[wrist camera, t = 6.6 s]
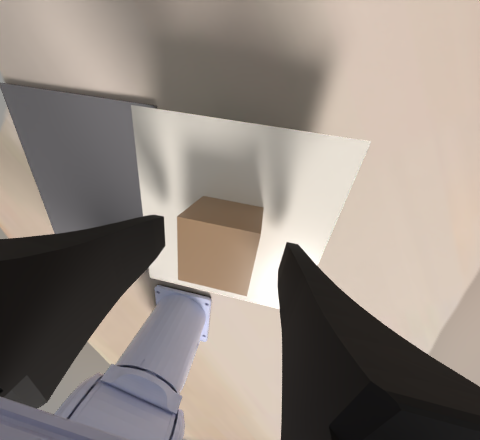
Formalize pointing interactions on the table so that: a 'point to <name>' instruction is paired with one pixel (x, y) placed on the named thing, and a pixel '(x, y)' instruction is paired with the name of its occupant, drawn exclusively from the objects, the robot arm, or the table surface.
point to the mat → (78, 155)
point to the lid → (238, 197)
